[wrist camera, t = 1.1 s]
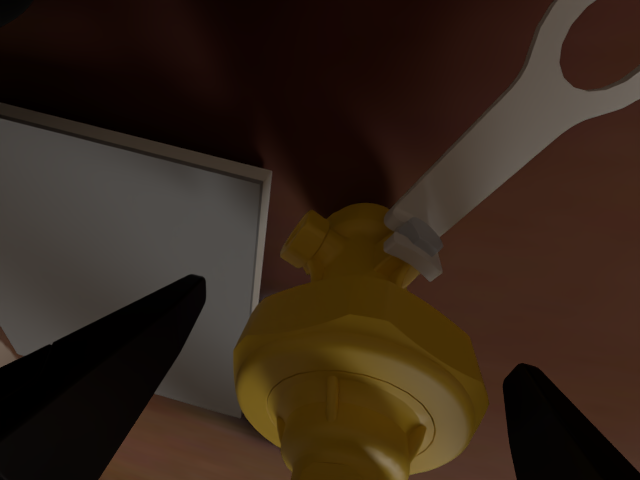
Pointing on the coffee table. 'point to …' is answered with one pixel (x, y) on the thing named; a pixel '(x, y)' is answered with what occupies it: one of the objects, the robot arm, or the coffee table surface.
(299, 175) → the coffee table surface
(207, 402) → the stand
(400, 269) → the pressure relief valve
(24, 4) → the mug
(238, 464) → the coffee table surface
